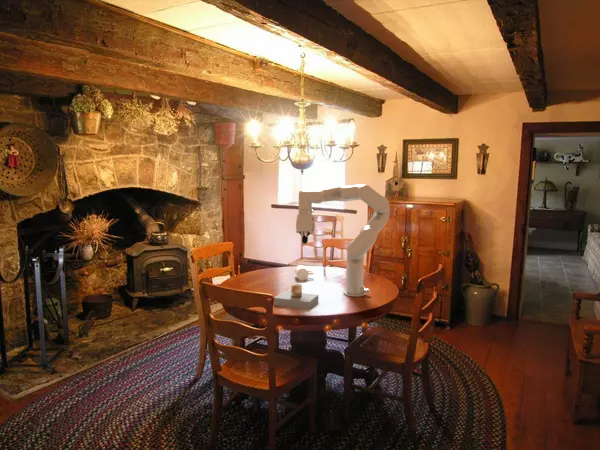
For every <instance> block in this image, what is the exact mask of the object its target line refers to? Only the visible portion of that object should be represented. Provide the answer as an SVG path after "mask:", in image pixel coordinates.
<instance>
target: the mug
mask: <svg viewBox="0 0 600 450" xmlns="http://www.w3.org/2000/svg"><path fill="white" fill-rule="evenodd" d="M294 273H295V277H296V278H297V279H298V280H299V281H305V280H307V279H308V278H309V275H314V274H315V271H314V270H309V269H307V267H306V265H302V264H298V265H297V266H296V267H295V269H294Z"/></svg>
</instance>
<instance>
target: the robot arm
mask: <svg viewBox="0 0 600 450" xmlns="http://www.w3.org/2000/svg"><path fill="white" fill-rule="evenodd" d="M334 201H335V202H352V201H362V202H363V203H365V204H366V205H368V206H369V207H370V208H372V209H373V210H374V213H373V215H372V216H371V217H370V219H369V220H368V221H367V222H366V223H365V225H364V226H363V227H362V228H361V229H360V231H359V234H358V235H357V236H356V237H355V238H354V239H352V240H351V241H349V243H347V246H346V282H345V283H346V287H345V288H346V289H344V290H343V294H344V295H345V296H348V297H353V298H354V297H363V296H365V295H366V293H367V294H370V293H371V289H370V288H365V285H364V263H365V262H364V260H365V259H364V257H365V254H366V253H367V252H368V251H369V250H370V249H371V248H372V247H373V245H374V244H375V242H376V241H377V238H378V234H379V233H380V231H381V230H382V229H383V228H384V227H385V225H386V224H387V223H388V220H389V218H390V213H391V210H390V209H391V208H390V202H389V200H388V199H387V198H386V197H385V196H383V195H381V194H380V193H379V192H377V191H376V190H374V189H373V188H372V187H371V186H370V185H369V184H365V183H362V184H353V185H345V186H338V187H331V188H322V189H315V190H309V189H308V190H307V189H304V190H303V189H302V190H299V192H298V213H297V215H296V222H295V229H296V231H295V232H296V233H297V234H299V235H300V236H301V242H302V244H304V245H306V244H307V243H308V242H309V236H310V235H314V233H315V227H316V226H315V218H314V217H315V216H314V213H315V210H313V209H312V208H313V206H312V205H313V204H317V205H318V204H322V203H325V202H334Z"/></svg>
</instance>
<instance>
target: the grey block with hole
mask: <svg viewBox="0 0 600 450" xmlns="http://www.w3.org/2000/svg"><path fill="white" fill-rule="evenodd" d="M274 298H275V305H274V306H280V307H288V308H295V309H301V310H308V311H309V310H310V309H312V308H313V307H315V305H317V304H318V303H319V294H313V293H307V292H306V293H305V292H304V293H303V292H302V297H300V298H293V297H291V291H290V290H284V291H282V292H281V293H279V294H277V295H276V296H273V299H274Z"/></svg>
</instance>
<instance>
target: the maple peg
mask: <svg viewBox="0 0 600 450" xmlns="http://www.w3.org/2000/svg"><path fill="white" fill-rule="evenodd" d="M290 287H291V288H290V289H291V291H290V292H291V297H293V298H300V297H302V293H303V285H302V284H300V283H293V284H291V285H290Z"/></svg>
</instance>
